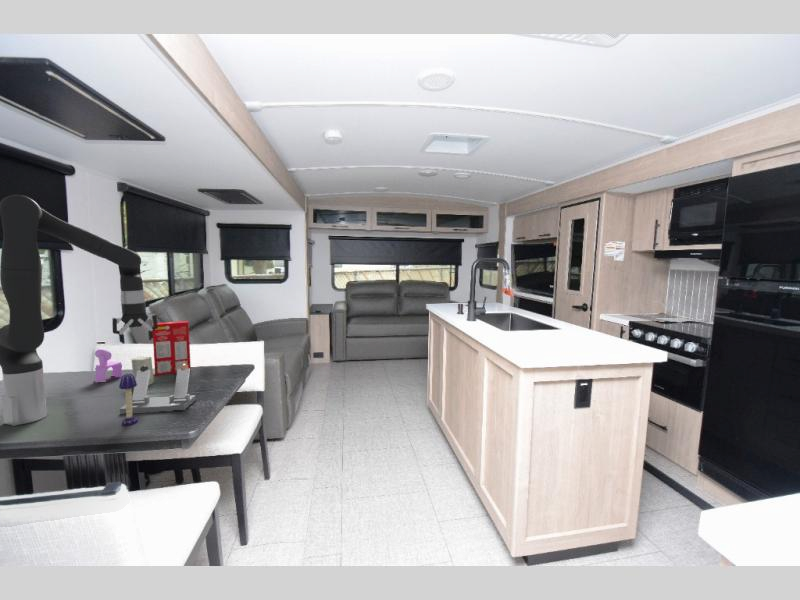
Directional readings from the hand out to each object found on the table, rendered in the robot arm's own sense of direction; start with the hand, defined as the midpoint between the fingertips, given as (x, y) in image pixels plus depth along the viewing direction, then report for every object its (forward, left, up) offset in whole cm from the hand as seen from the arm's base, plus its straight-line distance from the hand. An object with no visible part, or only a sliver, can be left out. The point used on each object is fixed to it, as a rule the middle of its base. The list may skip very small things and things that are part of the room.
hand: (137, 341), depth 137 cm
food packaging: (+28, +18, -23) cm, 40 cm away
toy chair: (+9, +35, -23) cm, 42 cm away
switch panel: (-5, -18, -23) cm, 29 cm away
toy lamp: (-18, -23, -23) cm, 37 cm away
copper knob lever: (-1, -24, -20) cm, 32 cm away
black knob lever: (-8, -12, -20) cm, 25 cm away
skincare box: (+10, +13, -23) cm, 28 cm away
